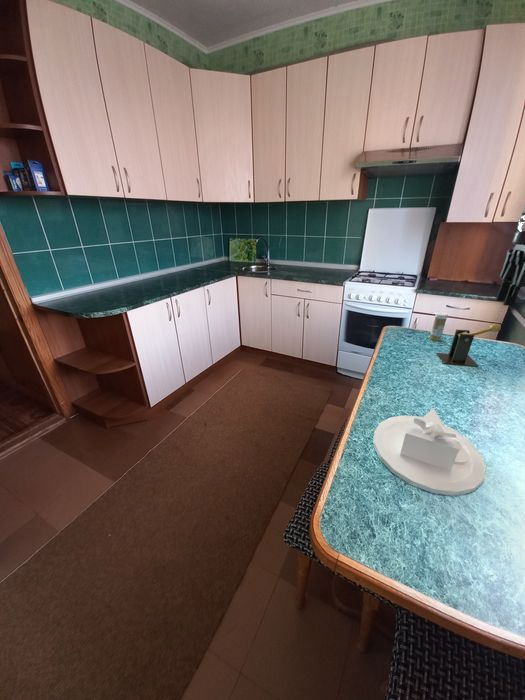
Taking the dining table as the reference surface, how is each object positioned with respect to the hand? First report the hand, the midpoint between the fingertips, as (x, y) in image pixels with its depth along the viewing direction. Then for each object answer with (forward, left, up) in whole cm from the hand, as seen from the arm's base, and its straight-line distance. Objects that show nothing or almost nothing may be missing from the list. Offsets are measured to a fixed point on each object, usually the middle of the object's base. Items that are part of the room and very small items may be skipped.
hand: (504, 302), depth 101 cm
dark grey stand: (+4, +8, -25) cm, 26 cm away
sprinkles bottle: (+22, +1, -25) cm, 33 cm away
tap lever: (+2, +3, -13) cm, 14 cm away
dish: (-30, +54, -25) cm, 66 cm away
